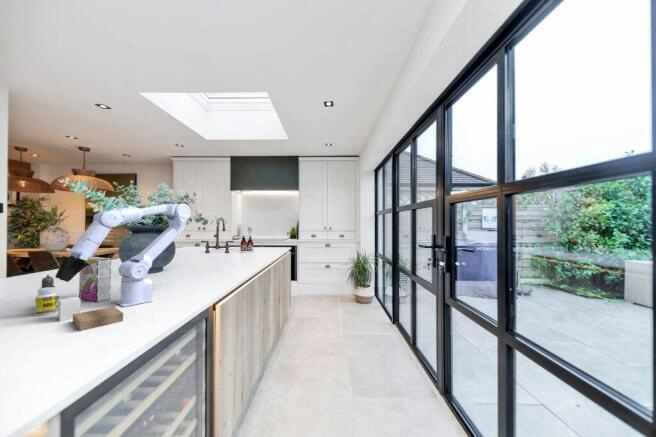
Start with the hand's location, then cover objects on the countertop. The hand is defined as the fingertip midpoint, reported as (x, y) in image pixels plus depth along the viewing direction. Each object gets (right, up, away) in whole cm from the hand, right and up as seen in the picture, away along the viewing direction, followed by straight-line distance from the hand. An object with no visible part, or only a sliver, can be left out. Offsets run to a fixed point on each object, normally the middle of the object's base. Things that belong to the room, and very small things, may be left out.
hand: (61, 279), depth 84 cm
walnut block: (+13, -13, -2) cm, 19 cm away
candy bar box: (-8, -13, +20) cm, 25 cm away
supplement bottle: (-10, -13, +4) cm, 17 cm away
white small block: (+2, -13, +1) cm, 13 cm away
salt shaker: (-15, -13, +9) cm, 21 cm away
